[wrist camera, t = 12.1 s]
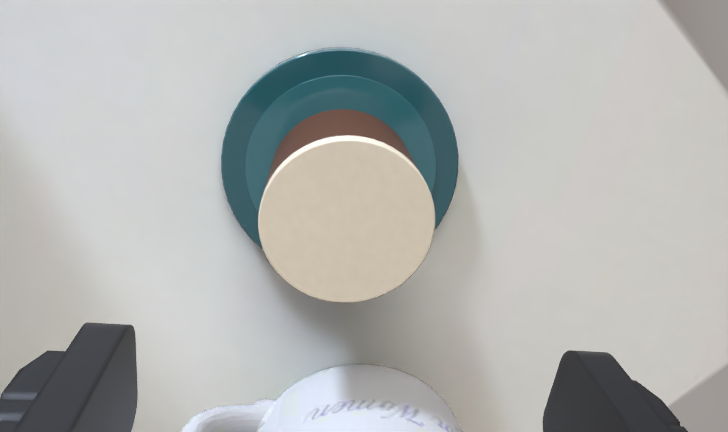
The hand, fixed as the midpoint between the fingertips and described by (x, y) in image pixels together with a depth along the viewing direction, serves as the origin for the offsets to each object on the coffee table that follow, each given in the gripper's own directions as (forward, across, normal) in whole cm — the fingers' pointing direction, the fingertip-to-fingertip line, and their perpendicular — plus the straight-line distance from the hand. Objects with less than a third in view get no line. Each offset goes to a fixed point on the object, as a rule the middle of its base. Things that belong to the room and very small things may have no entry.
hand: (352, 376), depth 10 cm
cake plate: (+14, 0, +1) cm, 15 cm away
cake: (+14, -1, +1) cm, 14 cm away
